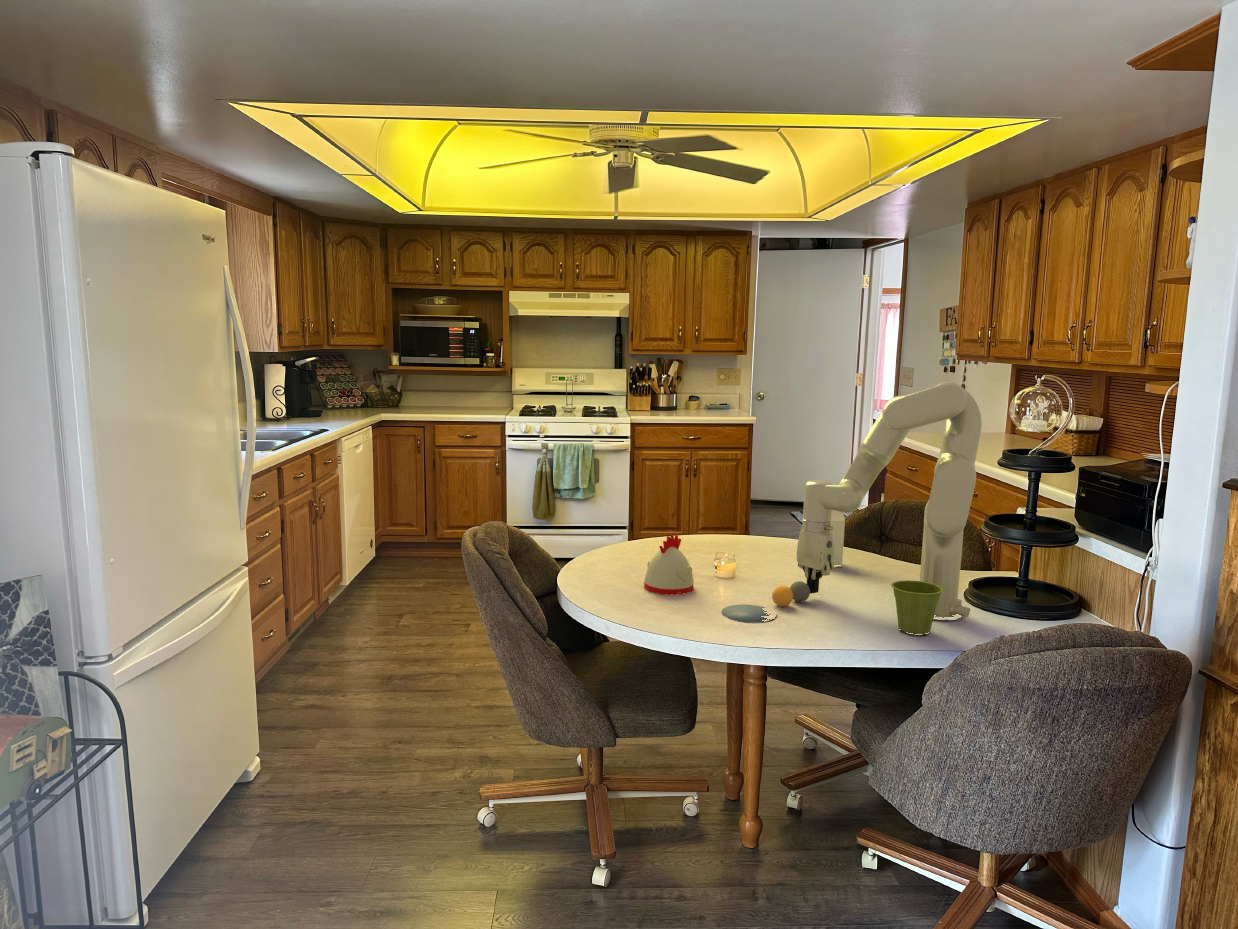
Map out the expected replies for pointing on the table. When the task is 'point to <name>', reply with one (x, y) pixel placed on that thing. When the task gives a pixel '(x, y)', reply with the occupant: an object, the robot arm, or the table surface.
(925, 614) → the plant pot
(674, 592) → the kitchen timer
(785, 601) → the object ball
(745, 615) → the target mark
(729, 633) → the table surface
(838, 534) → the milk carton
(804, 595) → the gray ball
